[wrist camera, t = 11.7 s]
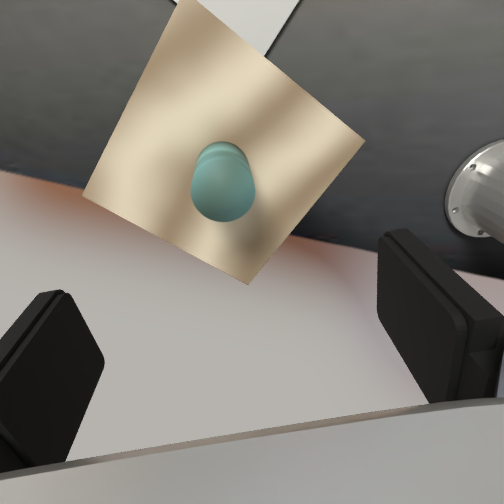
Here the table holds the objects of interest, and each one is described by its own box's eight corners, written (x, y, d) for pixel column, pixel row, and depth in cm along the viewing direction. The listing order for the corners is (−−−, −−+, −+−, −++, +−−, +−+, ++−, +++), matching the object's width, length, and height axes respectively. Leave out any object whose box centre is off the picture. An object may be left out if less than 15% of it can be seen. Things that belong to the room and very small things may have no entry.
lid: (359, 138, 24) (398, 158, 19) (247, 278, 29) (252, 325, 24) (185, -7, 19) (172, -33, 14) (86, 190, 24) (49, 225, 19)
